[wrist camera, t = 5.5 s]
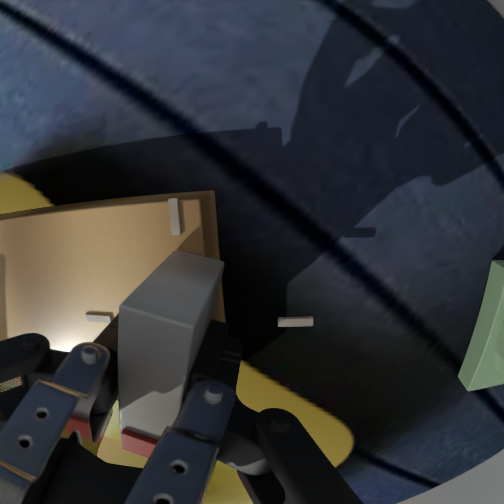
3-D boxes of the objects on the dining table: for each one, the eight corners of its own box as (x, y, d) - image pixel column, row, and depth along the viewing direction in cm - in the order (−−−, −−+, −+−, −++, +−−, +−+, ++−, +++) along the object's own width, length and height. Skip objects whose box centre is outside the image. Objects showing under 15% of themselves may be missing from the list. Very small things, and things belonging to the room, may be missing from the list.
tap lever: (175, 248, 12) (113, 308, 7) (225, 261, 12) (191, 332, 7) (159, 368, 14) (118, 450, 9) (200, 380, 14) (172, 468, 9)
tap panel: (306, 184, 14) (314, 191, 11) (304, 373, 17) (308, 412, 14) (-28, 217, 16) (-59, 228, 13) (7, 346, 19) (-16, 366, 16)
